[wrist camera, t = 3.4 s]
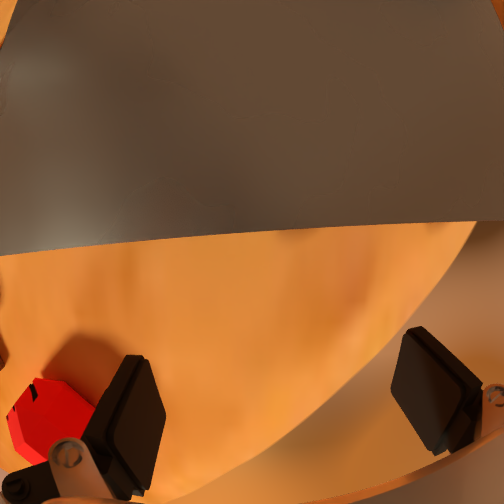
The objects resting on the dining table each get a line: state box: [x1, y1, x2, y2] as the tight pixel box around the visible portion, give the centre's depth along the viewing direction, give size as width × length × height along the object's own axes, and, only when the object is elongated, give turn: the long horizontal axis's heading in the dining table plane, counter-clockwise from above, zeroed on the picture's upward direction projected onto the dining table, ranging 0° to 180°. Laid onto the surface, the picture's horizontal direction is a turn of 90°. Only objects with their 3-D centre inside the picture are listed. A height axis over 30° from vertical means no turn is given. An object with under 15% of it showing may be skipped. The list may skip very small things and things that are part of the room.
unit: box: [0, 0, 504, 256], centre depth 8 cm, size 7×10×12 cm
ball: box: [6, 378, 96, 466], centre depth 15 cm, size 8×8×8 cm
